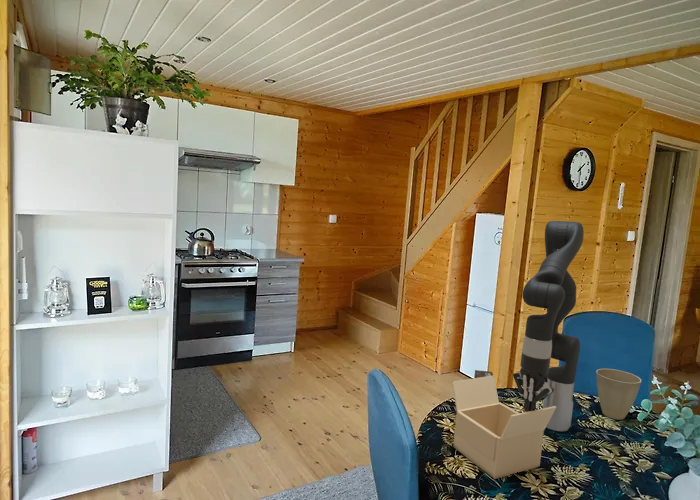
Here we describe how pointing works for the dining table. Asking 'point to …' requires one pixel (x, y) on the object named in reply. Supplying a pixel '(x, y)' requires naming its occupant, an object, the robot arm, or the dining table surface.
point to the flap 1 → (475, 392)
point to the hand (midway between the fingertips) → (529, 411)
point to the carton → (495, 441)
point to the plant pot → (616, 392)
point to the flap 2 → (527, 422)
